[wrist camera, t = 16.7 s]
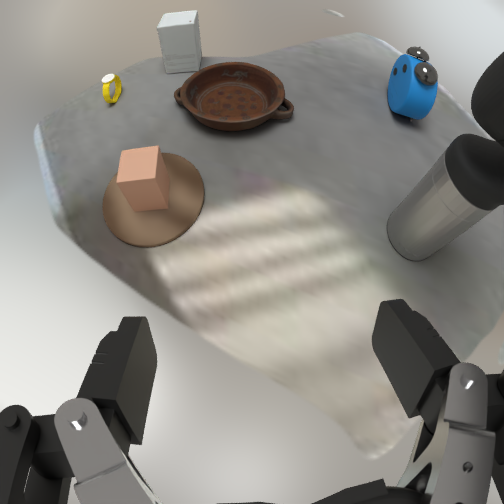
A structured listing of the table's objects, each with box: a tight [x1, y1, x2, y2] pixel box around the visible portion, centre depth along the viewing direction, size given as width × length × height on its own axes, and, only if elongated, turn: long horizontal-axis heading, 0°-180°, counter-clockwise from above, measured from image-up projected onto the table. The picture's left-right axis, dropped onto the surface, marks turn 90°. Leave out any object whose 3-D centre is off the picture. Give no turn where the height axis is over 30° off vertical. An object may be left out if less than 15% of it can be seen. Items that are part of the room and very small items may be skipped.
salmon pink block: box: [116, 146, 170, 212], centre depth 40 cm, size 5×5×8 cm
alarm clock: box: [388, 47, 438, 121], centre depth 48 cm, size 13×6×15 cm, turn 171°
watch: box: [102, 74, 122, 103], centre depth 50 cm, size 6×3×6 cm, turn 175°
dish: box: [174, 62, 294, 131], centre depth 50 cm, size 18×22×5 cm
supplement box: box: [157, 10, 202, 74], centre depth 51 cm, size 7×7×13 cm
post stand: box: [103, 153, 204, 247], centre depth 41 cm, size 16×16×7 cm
